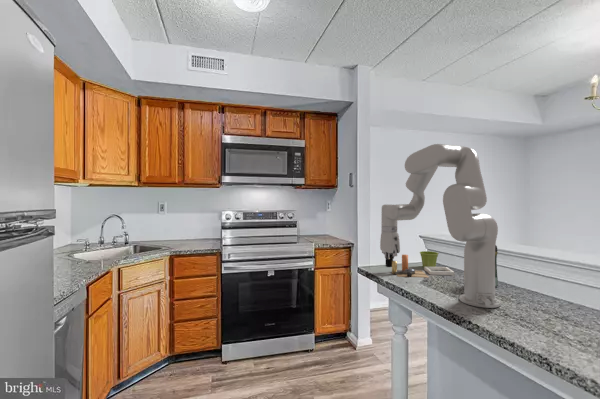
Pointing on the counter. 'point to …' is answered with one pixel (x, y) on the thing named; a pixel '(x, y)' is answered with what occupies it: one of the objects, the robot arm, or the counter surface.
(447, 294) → the counter surface
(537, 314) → the counter surface
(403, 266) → the pin
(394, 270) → the crank
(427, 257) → the plant pot
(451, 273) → the tray
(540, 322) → the counter surface
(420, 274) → the crank base
